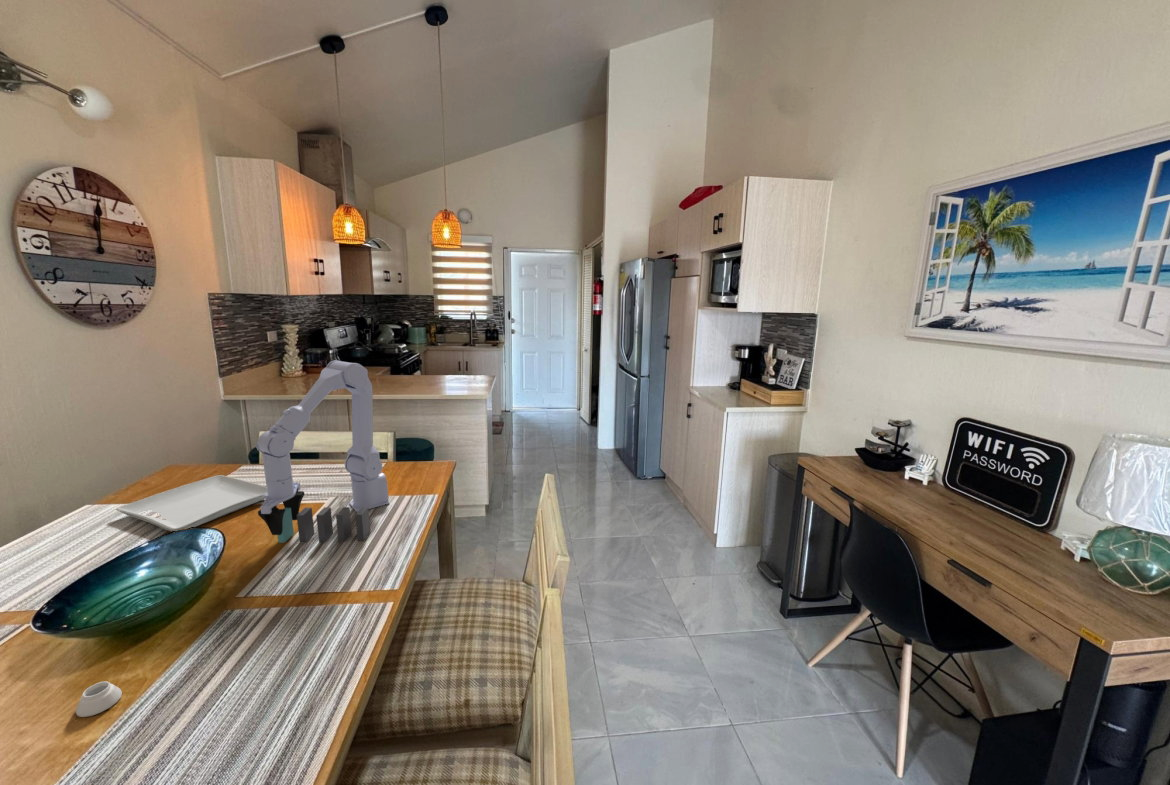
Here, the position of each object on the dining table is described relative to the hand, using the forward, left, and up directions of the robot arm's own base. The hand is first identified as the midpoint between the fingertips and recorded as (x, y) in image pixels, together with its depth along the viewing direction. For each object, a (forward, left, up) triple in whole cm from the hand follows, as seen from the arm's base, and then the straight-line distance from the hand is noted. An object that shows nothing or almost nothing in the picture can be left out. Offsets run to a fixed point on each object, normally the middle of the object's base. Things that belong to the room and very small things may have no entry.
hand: (285, 526), depth 123 cm
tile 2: (-12, +9, -3) cm, 15 cm away
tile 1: (-16, +12, -3) cm, 20 cm away
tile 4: (-4, +3, -3) cm, 6 cm away
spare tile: (0, 0, -3) cm, 3 cm away
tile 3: (-8, +6, -3) cm, 10 cm away
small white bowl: (+32, +39, -4) cm, 51 cm away
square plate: (+16, -35, -4) cm, 38 cm away
